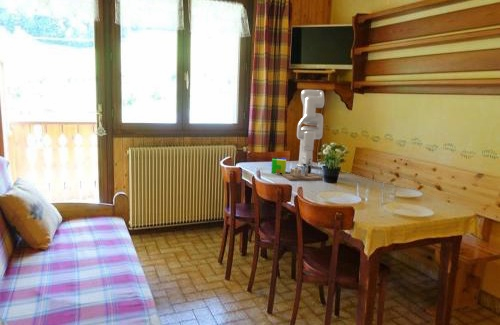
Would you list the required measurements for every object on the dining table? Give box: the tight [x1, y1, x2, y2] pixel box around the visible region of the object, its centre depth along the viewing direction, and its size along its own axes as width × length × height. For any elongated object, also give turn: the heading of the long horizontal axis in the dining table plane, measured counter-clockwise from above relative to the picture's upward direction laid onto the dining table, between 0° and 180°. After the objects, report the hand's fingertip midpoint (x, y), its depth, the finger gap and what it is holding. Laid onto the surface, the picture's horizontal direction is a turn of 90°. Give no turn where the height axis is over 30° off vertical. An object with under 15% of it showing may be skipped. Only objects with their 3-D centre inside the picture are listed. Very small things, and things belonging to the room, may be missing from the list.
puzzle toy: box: [271, 156, 287, 175], centre depth 285 cm, size 10×10×10 cm
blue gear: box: [301, 166, 307, 173], centre depth 287 cm, size 7×7×5 cm
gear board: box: [281, 166, 323, 182], centre depth 271 cm, size 14×24×8 cm, turn 105°
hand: (306, 172), depth 287 cm, fingers closed on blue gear, 6 cm apart
